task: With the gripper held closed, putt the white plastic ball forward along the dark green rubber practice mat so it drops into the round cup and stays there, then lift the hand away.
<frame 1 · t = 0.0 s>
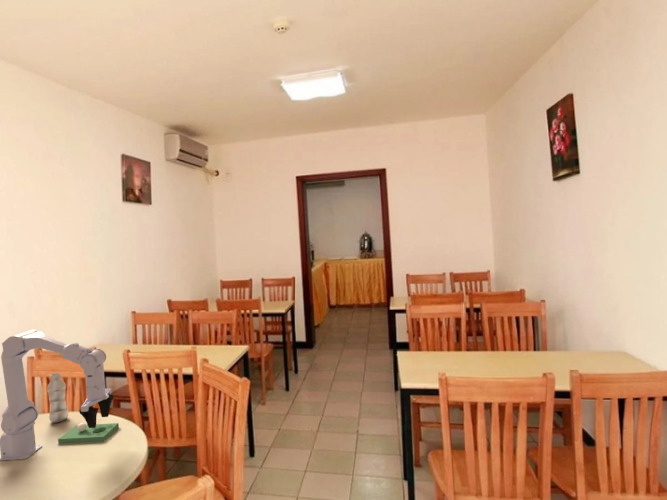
hand: (98, 421, 138), 10 cm above the table, fingers open, 7 cm apart
plastic bottle: (59, 421, 162), on the table
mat: (89, 435, 148), on the table
ball: (82, 427, 148), point 4 cm above the table, touching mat
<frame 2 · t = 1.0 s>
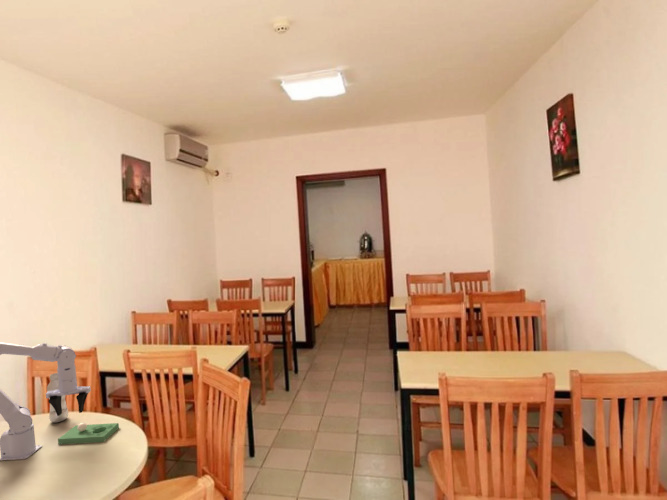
hand: (70, 413, 148), 9 cm above the table, fingers open, 7 cm apart
nothing on the table moved.
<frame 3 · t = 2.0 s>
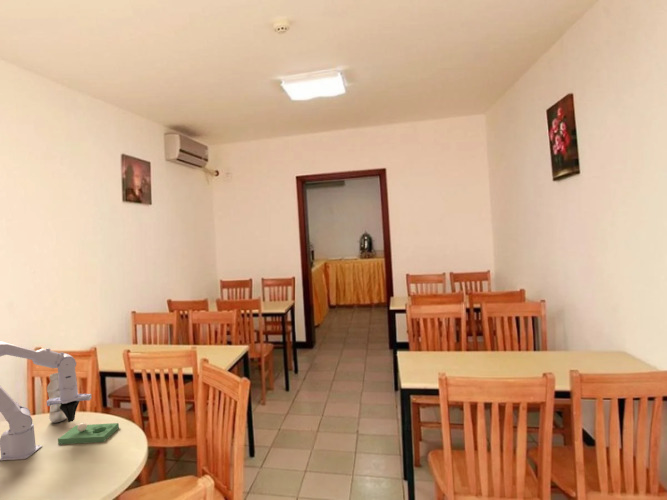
hand: (71, 420, 148), 6 cm above the table, fingers closed
nothing on the table moved.
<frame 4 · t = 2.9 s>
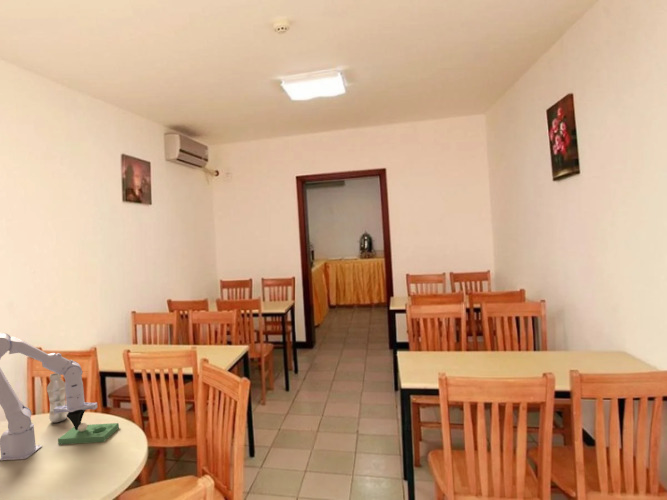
hand: (78, 428, 148), 3 cm above the table, fingers closed, pressing on ball
ball: (82, 427, 148), point 4 cm above the table, tilted 7°, touching gripper, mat
everything else where it was.
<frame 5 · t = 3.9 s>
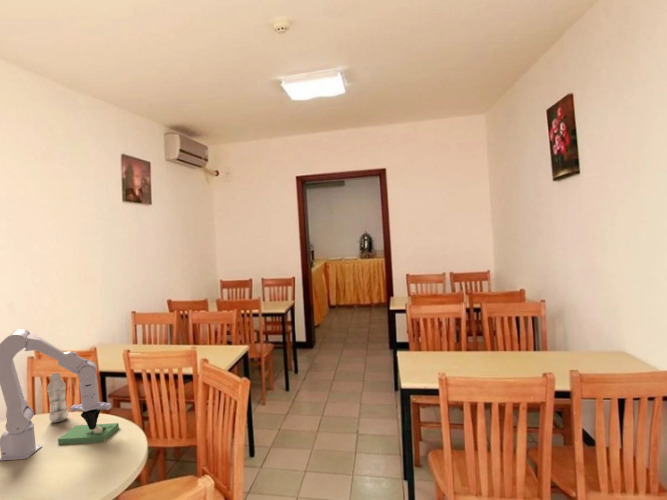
hand: (92, 428, 148), 3 cm above the table, fingers closed
ball: (97, 430, 148), point 2 cm above the table, tilted 174°, touching gripper, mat
everything else where it was.
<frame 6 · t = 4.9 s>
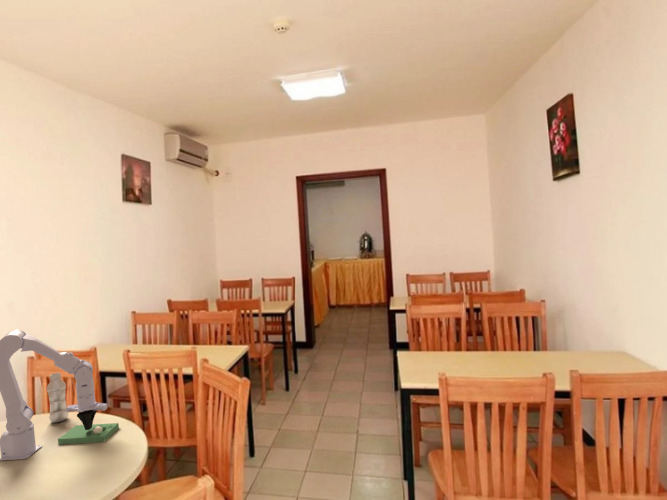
hand: (88, 428, 148), 3 cm above the table, fingers closed
ball: (97, 430, 148), point 2 cm above the table, tilted 173°, touching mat
everything else where it was.
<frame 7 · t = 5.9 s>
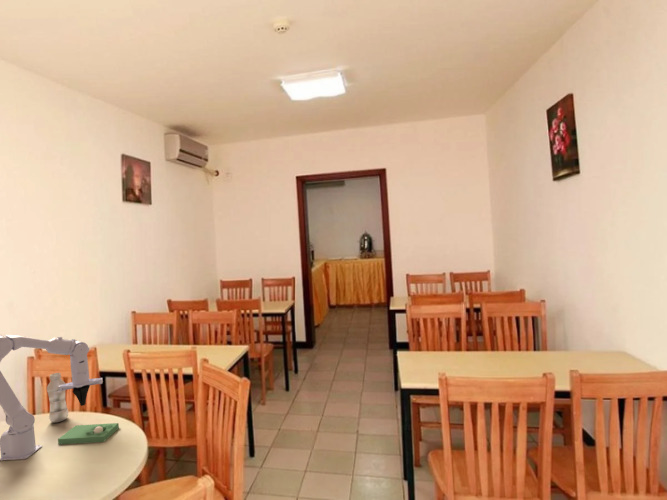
hand: (83, 404, 154), 10 cm above the table, fingers closed
ball: (98, 430, 148), point 2 cm above the table, tilted 165°, touching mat
everything else where it was.
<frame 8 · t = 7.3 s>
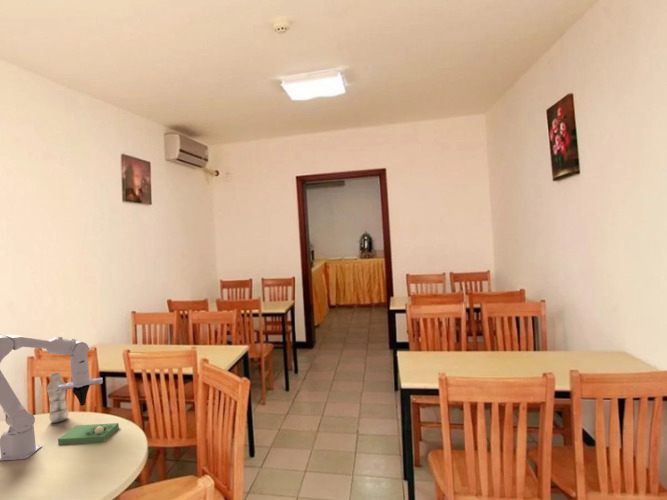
hand: (83, 404, 154), 10 cm above the table, fingers closed
ball: (99, 430, 148), point 2 cm above the table, tilted 155°, touching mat
everything else where it was.
at the end: ball 0.2 cm from the target spot on the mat, point 1.8 cm above the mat's base; the gripper is holding nothing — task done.
